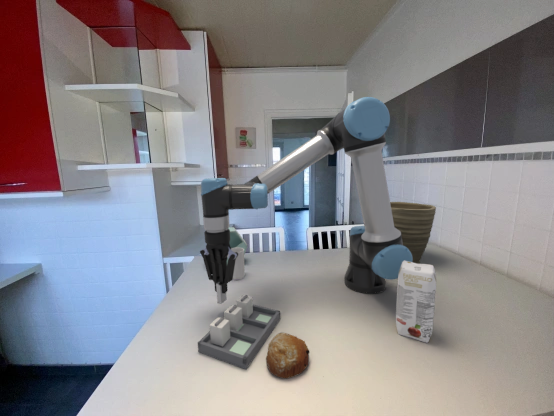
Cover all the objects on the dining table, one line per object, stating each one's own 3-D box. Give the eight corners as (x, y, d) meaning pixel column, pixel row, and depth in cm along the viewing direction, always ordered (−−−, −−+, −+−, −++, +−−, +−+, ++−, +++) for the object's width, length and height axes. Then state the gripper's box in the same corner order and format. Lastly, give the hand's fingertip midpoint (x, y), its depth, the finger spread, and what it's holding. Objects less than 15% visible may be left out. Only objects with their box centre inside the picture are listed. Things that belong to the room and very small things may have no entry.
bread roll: (273, 359, 61) (258, 335, 59) (308, 340, 61) (294, 316, 60) (276, 395, 51) (259, 367, 50) (317, 373, 51) (302, 344, 50)
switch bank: (280, 318, 71) (280, 310, 71) (246, 369, 53) (245, 359, 53) (241, 308, 77) (240, 301, 77) (198, 351, 59) (197, 342, 59)
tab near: (230, 337, 62) (229, 318, 61) (222, 346, 59) (221, 326, 58) (219, 334, 63) (217, 315, 62) (210, 342, 60) (209, 322, 59)
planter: (225, 276, 112) (198, 244, 106) (224, 270, 119) (198, 239, 113) (254, 254, 114) (228, 221, 108) (251, 249, 122) (227, 218, 116)
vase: (442, 273, 100) (440, 206, 93) (381, 270, 111) (375, 209, 104) (432, 249, 121) (430, 192, 115) (382, 248, 132) (377, 196, 125)
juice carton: (431, 346, 59) (437, 275, 56) (393, 334, 63) (397, 268, 60) (431, 329, 65) (436, 264, 62) (396, 319, 70) (400, 258, 67)
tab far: (253, 312, 72) (252, 295, 72) (247, 318, 69) (246, 301, 69) (243, 309, 74) (242, 293, 73) (237, 316, 71) (236, 298, 70)
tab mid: (242, 324, 67) (241, 306, 66) (235, 331, 64) (234, 312, 63) (232, 321, 69) (231, 303, 68) (225, 328, 65) (223, 309, 65)
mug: (245, 272, 105) (244, 247, 103) (245, 279, 98) (243, 252, 96) (222, 274, 104) (220, 248, 102) (220, 281, 97) (218, 253, 95)
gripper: (242, 228, 72) (245, 299, 75) (208, 225, 77) (213, 292, 81) (227, 234, 65) (232, 312, 69) (191, 230, 70) (197, 303, 74)
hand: (222, 301), depth 75 cm, fingers closed
